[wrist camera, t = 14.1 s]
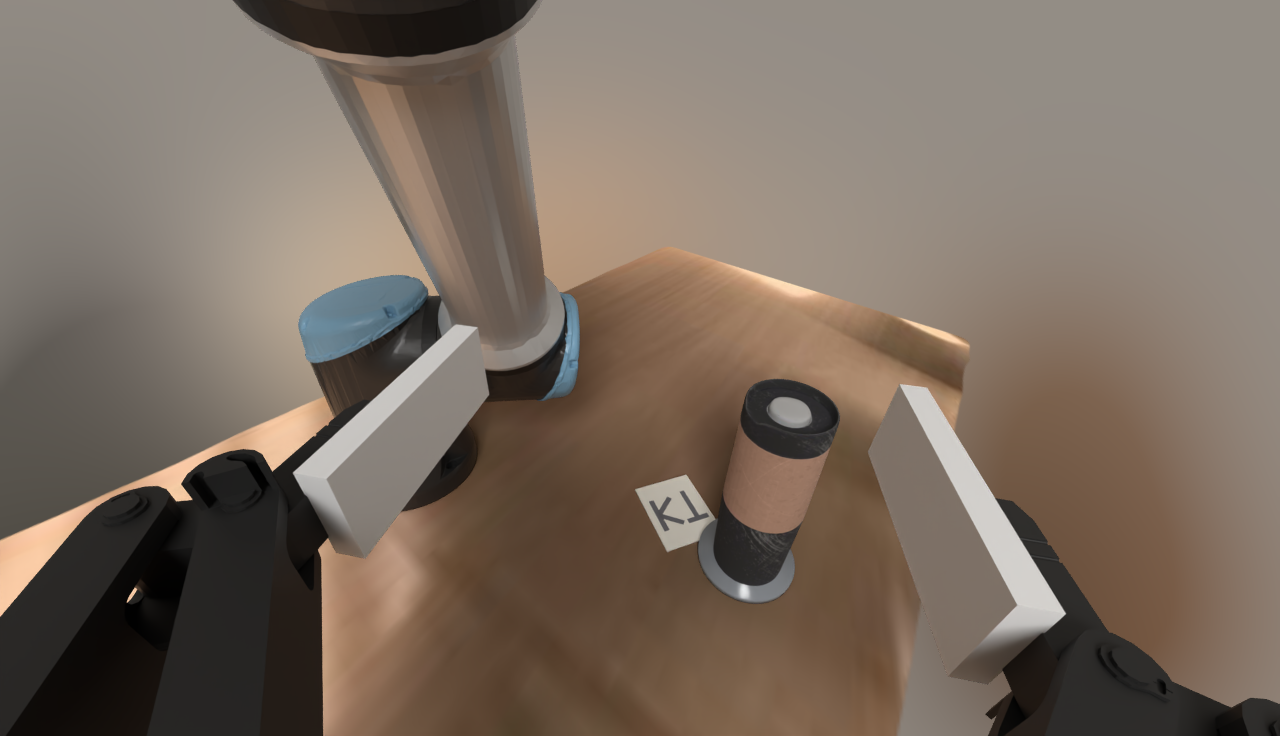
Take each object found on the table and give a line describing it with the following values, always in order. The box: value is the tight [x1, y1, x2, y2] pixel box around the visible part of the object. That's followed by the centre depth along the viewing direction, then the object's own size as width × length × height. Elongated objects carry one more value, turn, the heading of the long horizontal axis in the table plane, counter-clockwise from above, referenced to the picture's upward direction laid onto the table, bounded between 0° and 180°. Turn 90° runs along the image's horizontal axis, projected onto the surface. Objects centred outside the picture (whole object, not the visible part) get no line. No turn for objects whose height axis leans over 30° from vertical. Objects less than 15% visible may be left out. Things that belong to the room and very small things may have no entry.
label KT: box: [635, 475, 715, 552], centre depth 52 cm, size 9×7×1 cm
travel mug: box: [713, 379, 840, 586], centre depth 42 cm, size 8×8×20 cm
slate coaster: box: [698, 519, 795, 604], centre depth 47 cm, size 10×10×1 cm
